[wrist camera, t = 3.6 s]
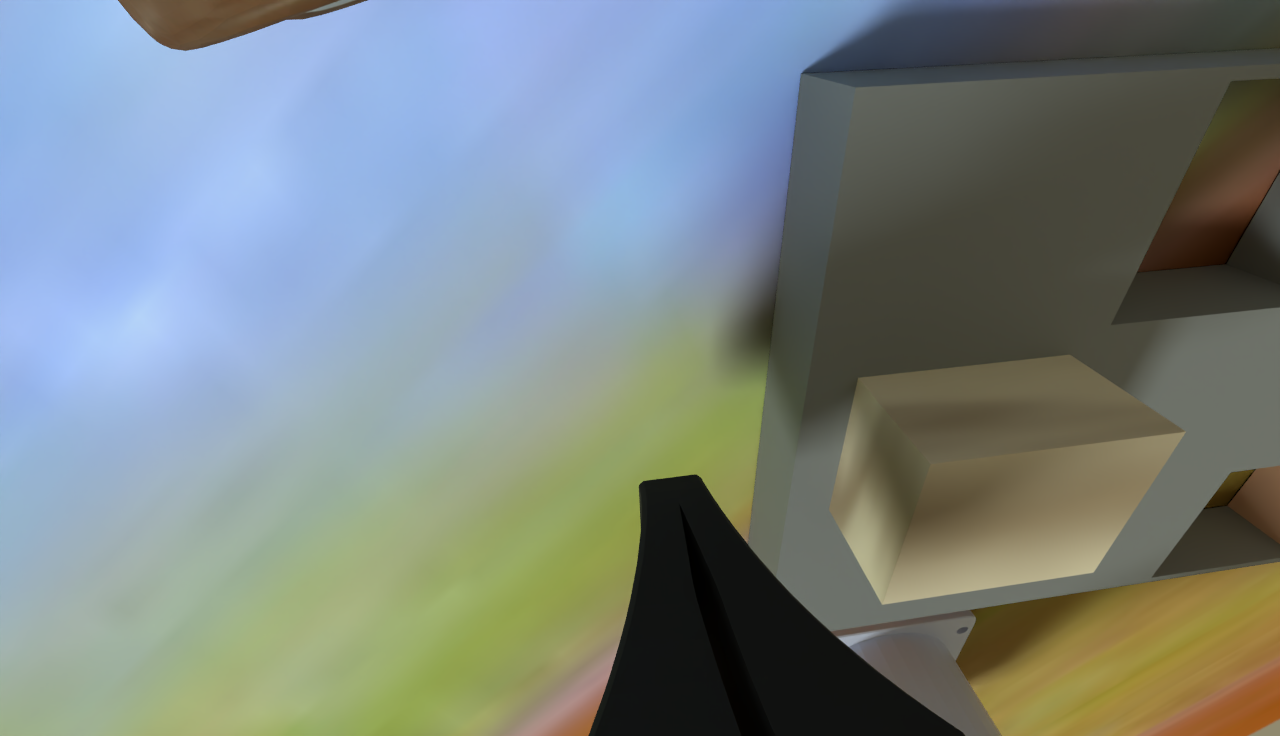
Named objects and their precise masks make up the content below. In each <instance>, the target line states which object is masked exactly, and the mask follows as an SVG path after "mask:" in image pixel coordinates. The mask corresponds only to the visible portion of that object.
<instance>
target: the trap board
mask: <svg viewBox="0 0 1280 736" xmlns="http://www.w3.org/2000/svg"><path fill="white" fill-rule="evenodd" d="M1277 78H1280V48H1275V49H1256V50H1237V51H1218V52H1199V53H1180V54H1161V55H1142V56H1123V57H1104V58H1085V59H1066V60H1047V61H1028V62H1009V63H990V64H971V65H952V66H934V67H915V68H896V69H877V70H858V71H839V72H820V73H801V78H800V87H799V96H798V105H797V114H796V123H795V132H794V141H793V149H792V158H791V167H790V176H789V185H788V194H787V203H786V212H785V221H784V229H783V238H782V247H781V256H780V265H779V274H778V283H777V292H776V301H775V309H774V318H773V327H772V336H771V345H770V354H769V363H768V372H767V381H766V390H765V398H764V407H763V416H762V425H761V434H760V443H759V452H758V461H757V470H756V478H755V487H754V496H753V505H752V514H751V523H750V532H749V541H748V545H749V546H750V548H751V549H752V550H753V552H754V553H755V554H756V555H757V556H758V557H759V559H760V560H761V561H762V562H763V563H764V564H765V566H766V567H767V568H768V569H769V570H770V571H771V572H772V573H773V575H774V576H775V577H776V578H777V579H778V580H779V581H780V582H781V583H782V584H783V585H784V587H785V588H786V589H787V590H788V591H789V592H790V593H791V594H792V595H793V596H794V597H795V598H796V599H797V600H798V601H799V602H800V603H801V604H802V605H803V606H804V607H805V608H806V609H807V610H808V611H809V612H810V613H811V614H812V615H813V616H814V617H815V618H817V619H818V620H819V621H820V622H821V623H822V624H823V625H824V626H825V627H826V628H827V629H828V630H830V631H836V630H843V629H849V628H856V627H862V626H869V625H875V624H881V623H888V622H894V621H901V620H907V619H914V618H920V617H926V616H933V615H939V614H946V613H952V612H959V611H965V610H972V609H978V608H984V607H991V606H997V605H1004V604H1010V603H1017V602H1023V601H1029V600H1036V599H1042V598H1049V597H1055V596H1062V595H1068V594H1074V593H1081V592H1087V591H1094V590H1100V589H1107V588H1113V587H1120V586H1126V585H1132V584H1139V583H1145V582H1152V581H1158V580H1165V579H1171V578H1177V577H1184V576H1190V575H1197V574H1203V573H1210V572H1216V571H1222V570H1229V569H1235V568H1242V567H1248V566H1255V565H1261V564H1268V563H1274V562H1280V173H1279V175H1278V176H1277V178H1276V180H1275V181H1274V183H1273V185H1272V186H1271V188H1270V190H1269V192H1268V193H1267V195H1266V197H1265V198H1264V200H1263V202H1262V204H1261V205H1260V207H1259V209H1258V210H1257V212H1256V214H1255V216H1254V217H1253V219H1252V221H1251V222H1250V224H1249V226H1248V228H1247V229H1246V231H1245V233H1244V234H1243V236H1242V238H1241V240H1240V241H1239V243H1238V245H1237V246H1236V248H1235V250H1234V252H1233V253H1232V255H1231V257H1230V258H1229V260H1228V262H1227V264H1224V265H1213V266H1203V267H1192V268H1182V269H1171V270H1161V271H1150V272H1140V273H1137V271H1138V269H1139V267H1140V265H1141V263H1142V261H1143V259H1144V257H1145V255H1146V253H1147V251H1148V248H1149V246H1150V244H1151V242H1152V240H1153V238H1154V236H1155V234H1156V232H1157V230H1158V228H1159V226H1160V224H1161V222H1162V220H1163V218H1164V216H1165V214H1166V212H1167V210H1168V208H1169V206H1170V204H1171V202H1172V200H1173V198H1174V196H1175V194H1176V192H1177V190H1178V188H1179V186H1180V184H1181V182H1182V180H1183V178H1184V176H1185V174H1186V171H1187V169H1188V167H1189V165H1190V163H1191V161H1192V159H1193V157H1194V155H1195V153H1196V151H1197V149H1198V147H1199V145H1200V143H1201V141H1202V139H1203V137H1204V135H1205V133H1206V131H1207V129H1208V127H1209V125H1210V123H1211V121H1212V119H1213V117H1214V115H1215V113H1216V111H1217V109H1218V107H1219V105H1220V103H1221V101H1222V99H1223V96H1224V94H1225V92H1226V90H1227V88H1228V86H1229V84H1230V82H1231V81H1243V80H1260V79H1277ZM1062 355H1071V356H1073V357H1074V358H1076V359H1077V360H1079V361H1080V362H1082V363H1083V364H1085V365H1086V366H1088V367H1089V368H1091V369H1092V370H1094V371H1095V372H1097V373H1098V374H1100V375H1101V376H1103V377H1104V378H1106V379H1107V380H1109V381H1111V382H1112V383H1114V384H1115V385H1117V386H1118V387H1120V388H1121V389H1123V390H1124V391H1126V392H1127V393H1129V394H1130V395H1132V396H1133V397H1135V398H1136V399H1138V400H1139V401H1141V402H1142V403H1144V404H1145V405H1147V406H1148V407H1150V408H1151V409H1153V410H1154V411H1156V412H1157V413H1159V414H1160V415H1162V416H1163V417H1165V418H1166V419H1168V420H1169V421H1171V422H1172V423H1174V424H1175V425H1177V426H1178V427H1180V428H1181V429H1183V430H1184V431H1186V433H1185V434H1184V436H1183V437H1182V439H1181V440H1180V442H1179V443H1178V445H1177V446H1176V448H1175V449H1174V451H1173V452H1172V454H1171V456H1170V457H1169V459H1168V460H1167V462H1166V463H1165V465H1164V466H1163V468H1162V469H1161V471H1160V472H1159V474H1158V475H1157V477H1156V478H1155V480H1154V481H1153V483H1152V484H1151V486H1150V487H1149V489H1148V491H1147V492H1146V494H1145V495H1144V497H1143V498H1142V500H1141V501H1140V503H1139V504H1138V506H1137V507H1136V509H1135V510H1134V512H1133V513H1132V515H1131V516H1130V518H1129V519H1128V521H1127V522H1126V524H1125V525H1124V527H1123V529H1122V530H1121V532H1120V533H1119V535H1118V536H1117V538H1116V539H1115V541H1114V542H1113V544H1112V545H1111V547H1110V548H1109V550H1108V551H1107V553H1106V554H1105V556H1104V557H1103V559H1102V560H1101V562H1100V564H1099V565H1098V567H1097V568H1096V570H1095V571H1094V573H1088V574H1082V575H1075V576H1068V577H1062V578H1055V579H1049V580H1042V581H1035V582H1029V583H1022V584H1016V585H1009V586H1003V587H996V588H989V589H983V590H976V591H970V592H963V593H956V594H950V595H943V596H937V597H930V598H924V599H917V600H910V601H904V602H897V603H891V604H884V605H882V604H881V602H880V600H879V598H878V596H877V595H876V593H875V591H874V589H873V587H872V586H871V584H870V582H869V580H868V579H867V577H866V575H865V573H864V571H863V570H862V568H861V566H860V564H859V562H858V561H857V559H856V557H855V555H854V553H853V552H852V550H851V548H850V546H849V545H848V543H847V541H846V539H845V537H844V536H843V534H842V532H841V530H840V528H839V527H838V525H837V523H836V521H835V520H834V518H833V516H832V514H831V512H830V511H829V507H830V503H831V498H832V494H833V489H834V485H835V480H836V476H837V471H838V467H839V462H840V458H841V453H842V449H843V444H844V440H845V435H846V430H847V426H848V421H849V417H850V412H851V408H852V403H853V399H854V394H855V390H856V385H857V381H858V378H861V377H870V376H879V375H888V374H898V373H907V372H916V371H925V370H934V369H943V368H952V367H962V366H971V365H980V364H989V363H998V362H1007V361H1016V360H1025V359H1035V358H1044V357H1053V356H1062ZM1252 469H1256V470H1255V471H1254V472H1253V474H1252V475H1251V476H1250V478H1249V479H1248V480H1247V481H1246V483H1245V484H1244V485H1243V486H1242V488H1241V489H1240V490H1239V492H1238V493H1237V494H1236V495H1235V497H1234V498H1233V499H1232V500H1231V502H1230V503H1229V504H1228V506H1222V507H1215V508H1208V509H1203V508H1204V507H1205V506H1206V504H1207V503H1208V502H1209V500H1210V499H1211V498H1212V496H1213V495H1214V494H1215V493H1216V491H1217V490H1218V489H1219V487H1220V486H1221V485H1222V483H1223V482H1224V481H1225V479H1226V478H1227V477H1228V475H1229V474H1230V473H1231V472H1237V471H1244V470H1252Z"/></svg>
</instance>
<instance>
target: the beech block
mask: <svg viewBox="0 0 1280 736" xmlns="http://www.w3.org/2000/svg"><path fill="white" fill-rule="evenodd" d="M1185 433H1186V431H1184V430H1183V429H1181V428H1180V427H1178V426H1177V425H1175V424H1174V423H1172V422H1171V421H1169V420H1168V419H1166V418H1165V417H1163V416H1162V415H1160V414H1159V413H1157V412H1156V411H1154V410H1153V409H1151V408H1150V407H1148V406H1147V405H1145V404H1144V403H1142V402H1141V401H1139V400H1138V399H1136V398H1135V397H1133V396H1132V395H1130V394H1129V393H1127V392H1126V391H1124V390H1123V389H1121V388H1120V387H1118V386H1117V385H1115V384H1114V383H1112V382H1111V381H1109V380H1107V379H1106V378H1104V377H1103V376H1101V375H1100V374H1098V373H1097V372H1095V371H1094V370H1092V369H1091V368H1089V367H1088V366H1086V365H1085V364H1083V363H1082V362H1080V361H1079V360H1077V359H1076V358H1074V357H1073V356H1071V355H1062V356H1053V357H1044V358H1035V359H1025V360H1016V361H1007V362H998V363H989V364H980V365H971V366H962V367H952V368H943V369H934V370H925V371H916V372H907V373H898V374H888V375H879V376H870V377H861V378H858V381H857V385H856V390H855V394H854V399H853V403H852V408H851V412H850V417H849V421H848V426H847V430H846V435H845V440H844V444H843V449H842V453H841V458H840V462H839V467H838V471H837V476H836V480H835V485H834V489H833V494H832V498H831V503H830V507H829V511H830V512H831V514H832V516H833V518H834V520H835V521H836V523H837V525H838V527H839V528H840V530H841V532H842V534H843V536H844V537H845V539H846V541H847V543H848V545H849V546H850V548H851V550H852V552H853V553H854V555H855V557H856V559H857V561H858V562H859V564H860V566H861V568H862V570H863V571H864V573H865V575H866V577H867V579H868V580H869V582H870V584H871V586H872V587H873V589H874V591H875V593H876V595H877V596H878V598H879V600H880V602H881V604H882V605H884V604H891V603H897V602H904V601H910V600H917V599H924V598H930V597H937V596H943V595H950V594H956V593H963V592H970V591H976V590H983V589H989V588H996V587H1003V586H1009V585H1016V584H1022V583H1029V582H1035V581H1042V580H1049V579H1055V578H1062V577H1068V576H1075V575H1082V574H1088V573H1094V571H1095V570H1096V568H1097V567H1098V565H1099V564H1100V562H1101V560H1102V559H1103V557H1104V556H1105V554H1106V553H1107V551H1108V550H1109V548H1110V547H1111V545H1112V544H1113V542H1114V541H1115V539H1116V538H1117V536H1118V535H1119V533H1120V532H1121V530H1122V529H1123V527H1124V525H1125V524H1126V522H1127V521H1128V519H1129V518H1130V516H1131V515H1132V513H1133V512H1134V510H1135V509H1136V507H1137V506H1138V504H1139V503H1140V501H1141V500H1142V498H1143V497H1144V495H1145V494H1146V492H1147V491H1148V489H1149V487H1150V486H1151V484H1152V483H1153V481H1154V480H1155V478H1156V477H1157V475H1158V474H1159V472H1160V471H1161V469H1162V468H1163V466H1164V465H1165V463H1166V462H1167V460H1168V459H1169V457H1170V456H1171V454H1172V452H1173V451H1174V449H1175V448H1176V446H1177V445H1178V443H1179V442H1180V440H1181V439H1182V437H1183V436H1184V434H1185Z"/></svg>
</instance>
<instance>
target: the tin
mask: <svg viewBox="0 0 1280 736" xmlns="http://www.w3.org/2000/svg"><path fill="white" fill-rule="evenodd" d="M118 1H119V2H120V3H121V5H122V6H123V7H124V8H125V10H126V11H127V12H128V13H129V14H130V16H131V17H132V18H133V19H134V20H135V21H136V22H137V23H138V24H139V25H140V26H141V27H142V28H143V29H144V30H145V31H146V32H147V33H148V34H149V35H150V36H151V37H152V38H154V39H155V40H156V41H157V42H159V43H160V44H162V45H164V46H167V47H169V48H171V49H178V50H184V51H187V50H192V49H198V48H203V47H207V46H210V45H213V44H217V43H220V42H224V41H227V40H230V39H233V38H236V37H239V36H242V35H245V34H248V33H251V32H254V31H257V30H259V29H262V28H265V27H268V26H270V25H273V24H276V23H279V22H281V21H284V20H292V19H306V18H310V17H315V16H319V15H323V14H327V13H330V12H333V11H336V10H339V9H343V8H346V7H349V6H352V5H355V4H358V3H361V2H364V1H367V0H118Z"/></svg>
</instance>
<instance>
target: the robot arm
mask: <svg viewBox="0 0 1280 736" xmlns="http://www.w3.org/2000/svg"><path fill="white" fill-rule="evenodd" d="M639 497H640V519H641V535H640V544H639V553H638V561H637V567H636V573H635V578H634V583H633V589H632V594H631V599H630V604H629V608H628V612H627V617H626V621H625V625H624V628H623V632H622V636H621V640H620V643H619V647H618V650H617V654H616V657H615V660H614V664H613V667H612V670H611V674H610V677H609V680H608V683H607V686H606V689H605V692H604V695H603V698H602V700H601V703H600V706H599V709H598V711H597V714H596V717H595V719H594V722H593V725H592V728H591V730H590V733H589V736H1002V735H1001V734H1000V732H999V730H998V729H997V727H996V726H995V724H994V722H993V721H992V719H991V717H990V716H989V714H988V713H987V711H986V709H985V708H984V706H983V705H982V703H981V701H980V700H979V698H978V697H977V695H976V693H975V692H974V690H973V689H972V687H971V685H970V684H969V682H968V681H967V679H966V677H965V676H964V674H963V673H962V671H961V669H960V668H959V666H958V665H957V663H956V659H957V657H958V655H959V653H960V651H961V649H962V647H963V645H964V644H965V642H966V640H967V638H968V636H969V634H970V632H971V630H972V628H973V626H974V624H975V622H976V617H975V616H974V614H973V613H972V612H971V610H965V611H959V612H952V613H946V614H939V615H933V616H926V617H920V618H914V619H907V620H901V621H894V622H888V623H881V624H875V625H869V626H862V627H856V628H849V629H843V630H836V631H830V630H828V629H827V628H826V627H825V626H824V625H823V624H822V623H821V622H820V621H819V620H818V619H817V618H815V617H814V616H813V615H812V614H811V613H810V612H809V611H808V610H807V609H806V608H805V607H804V606H803V605H802V604H801V603H800V602H799V601H798V600H797V599H796V598H795V597H794V596H793V595H792V594H791V593H790V592H789V591H788V590H787V589H786V588H785V587H784V585H783V584H782V583H781V582H780V581H779V580H778V579H777V578H776V577H775V576H774V575H773V573H772V572H771V571H770V570H769V569H768V568H767V567H766V566H765V564H764V563H763V562H762V561H761V560H760V559H759V557H758V556H757V555H756V554H755V553H754V552H753V550H752V549H751V548H750V546H749V545H748V544H747V543H746V541H745V540H744V539H743V538H742V536H741V535H740V534H739V533H738V531H737V530H736V529H735V528H734V526H733V525H732V524H731V522H730V521H729V520H728V518H727V517H726V515H725V514H724V513H723V511H722V510H721V508H720V507H719V505H718V504H717V503H716V501H715V500H714V498H713V497H712V495H711V494H710V492H709V490H708V489H707V487H706V486H705V484H704V482H703V481H702V479H701V477H699V476H698V475H688V476H680V477H672V478H664V479H656V480H648V481H643V482H642V483H641V484H640V485H639Z"/></svg>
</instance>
